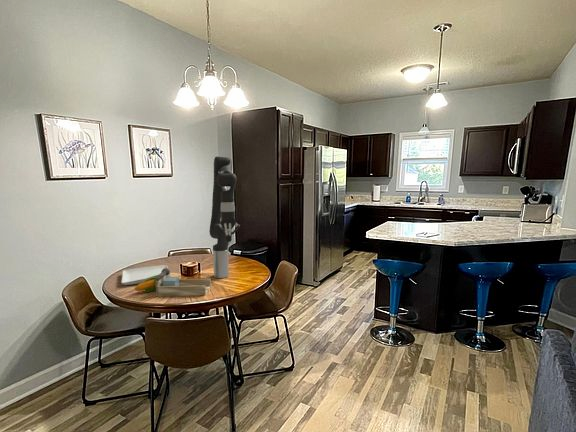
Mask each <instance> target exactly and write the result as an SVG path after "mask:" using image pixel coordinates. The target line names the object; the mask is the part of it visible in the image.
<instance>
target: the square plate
mask: <svg viewBox="0 0 576 432" xmlns="http://www.w3.org/2000/svg"><path fill="white" fill-rule="evenodd" d="M164 268H168V269H169V266H168V265H167V264H161V265H152V266H143V267H137V268H136V267H135V268H130V269H129V268H128V269H124V270H122V271H121V273H122V274H121V282H120V283H121V285H124V286H129V285H130V286H131V285H138V284H140V283H142V282H144V281H146V280H144V279H146V278H149V277H152V276H155V275H159V274H160V273H162V270H163V269H164ZM167 277H172V273H171V272H170V274H169V275H167ZM154 278H155V277H154ZM150 279H152V278H150ZM147 280H149V279H147Z"/></svg>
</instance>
